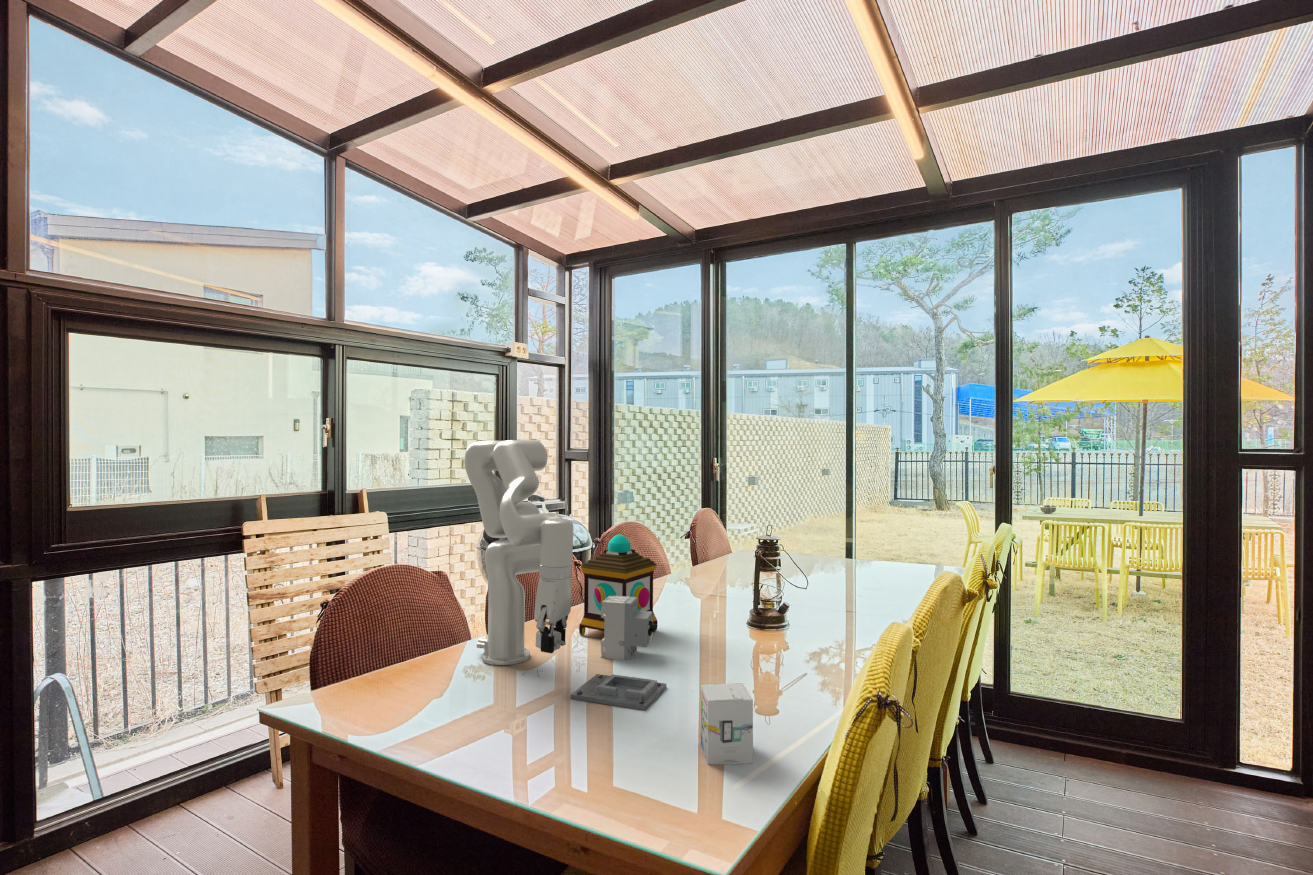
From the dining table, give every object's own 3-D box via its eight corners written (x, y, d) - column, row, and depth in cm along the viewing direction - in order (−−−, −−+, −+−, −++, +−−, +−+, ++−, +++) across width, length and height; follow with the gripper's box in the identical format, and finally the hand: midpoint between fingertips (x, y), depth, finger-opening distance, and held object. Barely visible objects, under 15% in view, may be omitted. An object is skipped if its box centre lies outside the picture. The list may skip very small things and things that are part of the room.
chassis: (570, 698, 147) (570, 687, 147) (596, 677, 160) (597, 667, 160) (645, 710, 141) (645, 698, 141) (666, 687, 154) (666, 677, 154)
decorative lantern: (664, 630, 202) (664, 533, 202) (627, 647, 185) (627, 541, 185) (611, 621, 212) (612, 528, 213) (572, 635, 196) (572, 535, 196)
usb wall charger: (548, 643, 158) (548, 627, 158) (568, 651, 154) (568, 634, 153) (535, 647, 155) (536, 631, 155) (555, 655, 150) (556, 638, 150)
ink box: (699, 743, 126) (700, 682, 126) (743, 742, 126) (743, 681, 126) (707, 765, 117) (707, 700, 117) (753, 763, 118) (754, 698, 118)
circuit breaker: (652, 661, 173) (653, 604, 173) (600, 657, 176) (601, 601, 176) (658, 652, 180) (658, 598, 180) (608, 649, 183) (608, 595, 183)
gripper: (558, 562, 163) (556, 634, 163) (522, 577, 147) (519, 657, 148) (586, 566, 160) (583, 639, 161) (552, 581, 144) (549, 663, 145)
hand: (553, 647), depth 154 cm, fingers closed on usb wall charger, 4 cm apart
